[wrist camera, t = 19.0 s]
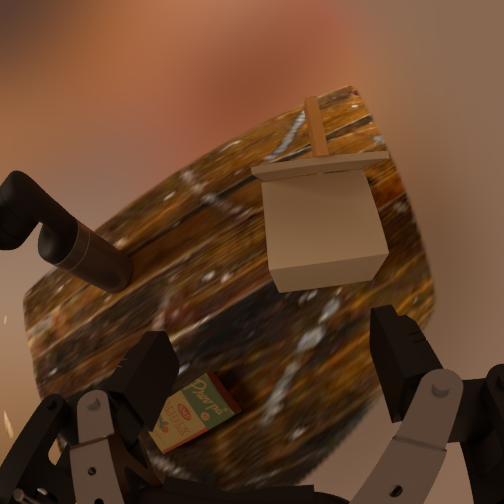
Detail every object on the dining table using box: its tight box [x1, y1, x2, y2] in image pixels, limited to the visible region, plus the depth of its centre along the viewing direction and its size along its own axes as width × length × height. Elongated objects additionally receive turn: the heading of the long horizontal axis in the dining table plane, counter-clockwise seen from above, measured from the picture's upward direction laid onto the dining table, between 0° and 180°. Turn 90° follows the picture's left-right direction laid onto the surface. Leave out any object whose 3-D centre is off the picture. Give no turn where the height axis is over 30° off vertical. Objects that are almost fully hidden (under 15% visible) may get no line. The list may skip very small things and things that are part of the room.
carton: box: [149, 372, 242, 454], centre depth 38 cm, size 8×16×4 cm, turn 126°
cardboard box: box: [261, 170, 389, 293], centre depth 42 cm, size 14×16×12 cm
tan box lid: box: [251, 96, 389, 181], centre depth 32 cm, size 14×15×7 cm
